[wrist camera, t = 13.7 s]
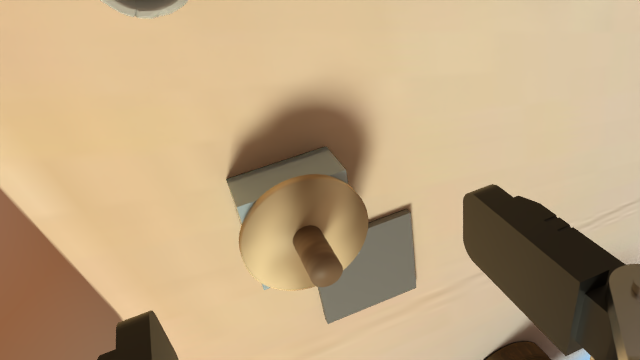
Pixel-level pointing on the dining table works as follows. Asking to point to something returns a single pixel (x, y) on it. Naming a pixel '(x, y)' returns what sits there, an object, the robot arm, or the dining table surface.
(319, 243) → the lid
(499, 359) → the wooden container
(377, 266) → the mat
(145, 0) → the mug
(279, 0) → the dining table surface
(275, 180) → the pale blue open box
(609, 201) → the dining table surface
